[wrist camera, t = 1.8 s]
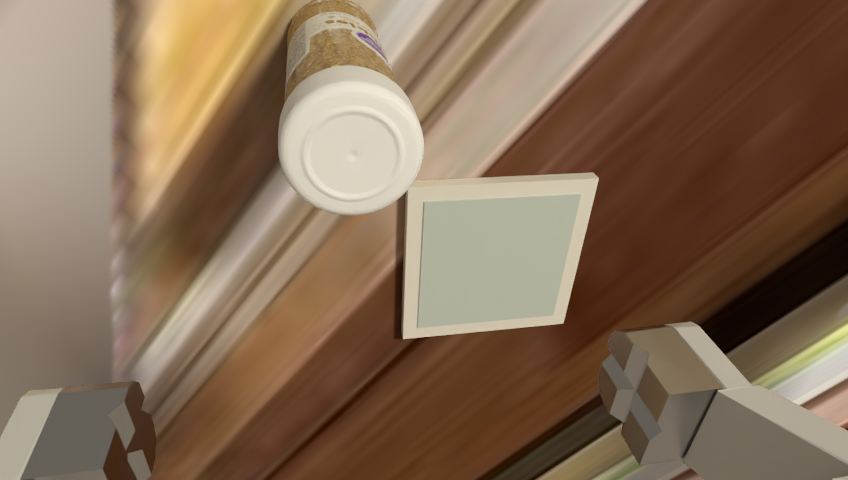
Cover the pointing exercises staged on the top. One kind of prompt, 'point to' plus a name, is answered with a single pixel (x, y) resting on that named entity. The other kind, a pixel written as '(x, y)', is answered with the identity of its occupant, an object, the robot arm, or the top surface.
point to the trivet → (492, 251)
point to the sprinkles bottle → (345, 114)
